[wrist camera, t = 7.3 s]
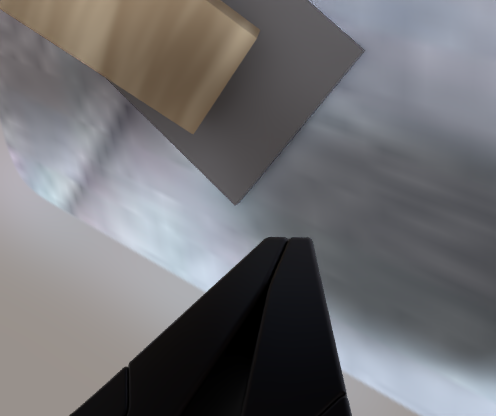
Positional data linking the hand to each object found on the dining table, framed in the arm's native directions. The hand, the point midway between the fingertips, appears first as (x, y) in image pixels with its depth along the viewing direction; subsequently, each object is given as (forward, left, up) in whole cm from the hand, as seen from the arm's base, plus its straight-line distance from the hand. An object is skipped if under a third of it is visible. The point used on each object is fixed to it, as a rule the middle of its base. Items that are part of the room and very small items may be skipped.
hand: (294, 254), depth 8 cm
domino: (+7, +2, -10) cm, 12 cm away
